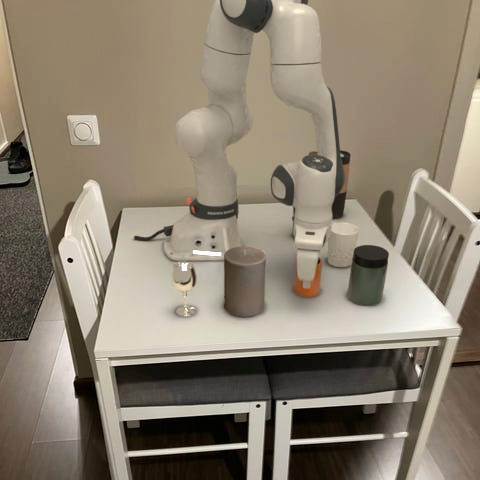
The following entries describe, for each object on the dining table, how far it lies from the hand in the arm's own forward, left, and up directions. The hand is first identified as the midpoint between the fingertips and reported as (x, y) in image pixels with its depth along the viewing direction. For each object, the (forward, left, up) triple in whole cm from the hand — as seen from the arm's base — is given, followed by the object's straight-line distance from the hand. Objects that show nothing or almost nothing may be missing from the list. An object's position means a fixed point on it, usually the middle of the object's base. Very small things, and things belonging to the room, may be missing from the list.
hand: (308, 279), depth 136 cm
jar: (+13, -6, -3) cm, 14 cm away
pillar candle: (-17, -4, -3) cm, 18 cm away
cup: (0, 0, -3) cm, 3 cm away
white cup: (+14, +13, -3) cm, 19 cm away
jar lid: (+13, -6, +8) cm, 16 cm away
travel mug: (+24, +45, -3) cm, 51 cm away
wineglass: (-31, -3, -3) cm, 31 cm away
